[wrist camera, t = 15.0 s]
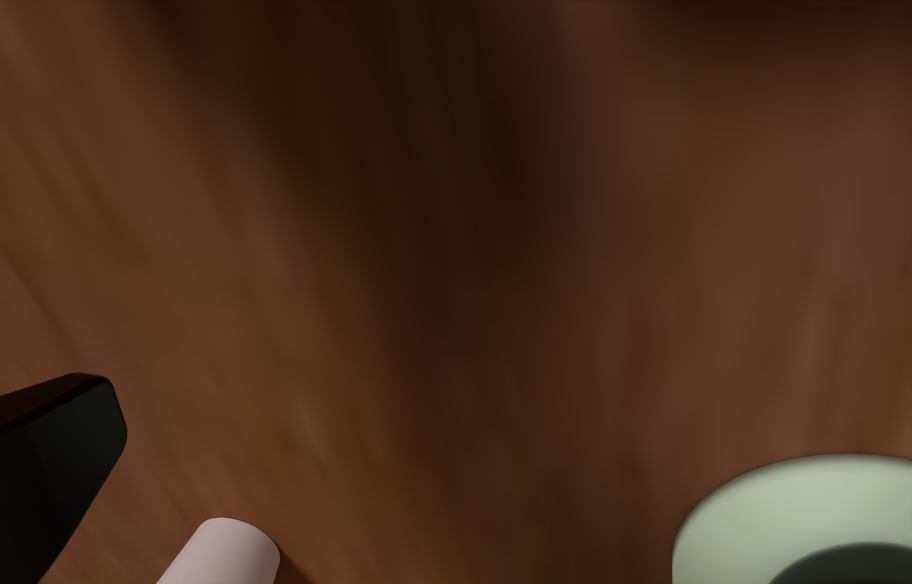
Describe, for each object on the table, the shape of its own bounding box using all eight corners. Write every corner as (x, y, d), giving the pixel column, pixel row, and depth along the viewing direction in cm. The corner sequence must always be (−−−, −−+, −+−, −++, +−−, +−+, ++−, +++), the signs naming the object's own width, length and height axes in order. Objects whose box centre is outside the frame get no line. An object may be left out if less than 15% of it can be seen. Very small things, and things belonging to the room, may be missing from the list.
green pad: (662, 639, 31) (662, 657, 30) (684, 438, 25) (685, 457, 24) (974, 680, 29) (981, 702, 28) (1084, 471, 23) (1097, 493, 22)
